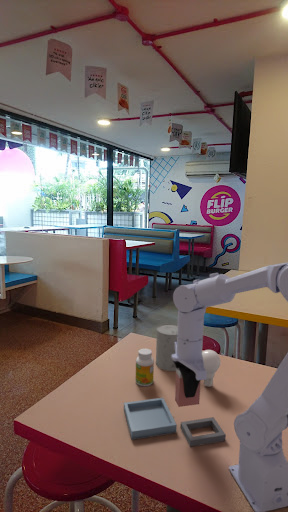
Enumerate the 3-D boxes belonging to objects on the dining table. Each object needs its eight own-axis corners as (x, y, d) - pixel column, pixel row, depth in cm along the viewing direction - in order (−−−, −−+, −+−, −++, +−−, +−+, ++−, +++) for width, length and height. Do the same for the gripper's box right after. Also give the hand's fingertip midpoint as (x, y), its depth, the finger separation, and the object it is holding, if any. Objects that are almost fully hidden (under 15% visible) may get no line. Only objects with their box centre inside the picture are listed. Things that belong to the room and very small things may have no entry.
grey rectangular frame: (225, 440, 67) (225, 434, 67) (189, 446, 65) (190, 440, 65) (213, 422, 73) (213, 417, 73) (180, 427, 71) (180, 422, 71)
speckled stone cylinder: (152, 368, 99) (153, 332, 97) (159, 355, 108) (160, 322, 106) (181, 373, 96) (182, 336, 94) (185, 359, 105) (187, 326, 103)
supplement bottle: (132, 383, 89) (132, 352, 88) (140, 375, 94) (141, 345, 93) (148, 388, 87) (149, 357, 86) (156, 379, 92) (157, 349, 90)
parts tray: (176, 432, 70) (176, 424, 69) (131, 439, 67) (131, 431, 67) (163, 404, 80) (163, 397, 80) (123, 409, 77) (123, 402, 77)
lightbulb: (219, 393, 85) (221, 357, 84) (196, 390, 86) (198, 354, 85) (218, 381, 91) (220, 347, 90) (197, 378, 93) (199, 345, 91)
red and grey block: (199, 404, 69) (200, 371, 68) (178, 406, 68) (180, 373, 67) (195, 397, 71) (196, 366, 70) (175, 400, 70) (176, 368, 69)
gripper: (163, 325, 73) (161, 377, 75) (184, 352, 59) (181, 415, 61) (190, 323, 75) (188, 374, 77) (217, 349, 61) (213, 410, 63)
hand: (187, 392), depth 69 cm, fingers closed on red and grey block, 2 cm apart
